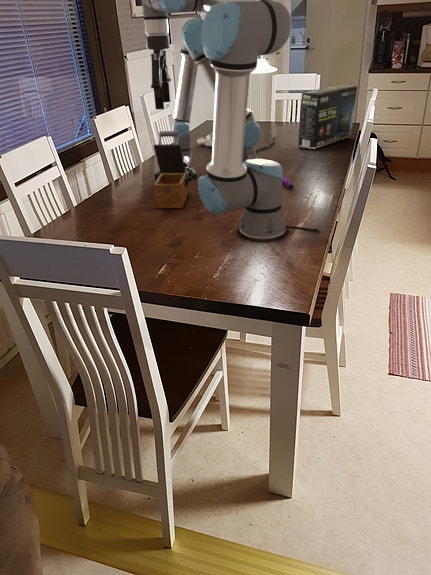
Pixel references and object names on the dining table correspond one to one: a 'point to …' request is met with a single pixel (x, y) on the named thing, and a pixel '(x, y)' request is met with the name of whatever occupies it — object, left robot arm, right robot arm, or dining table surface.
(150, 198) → the dining table surface
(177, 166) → the lid
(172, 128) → the left robot arm
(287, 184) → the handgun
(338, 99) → the router box
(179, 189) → the chest
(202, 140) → the fossil
